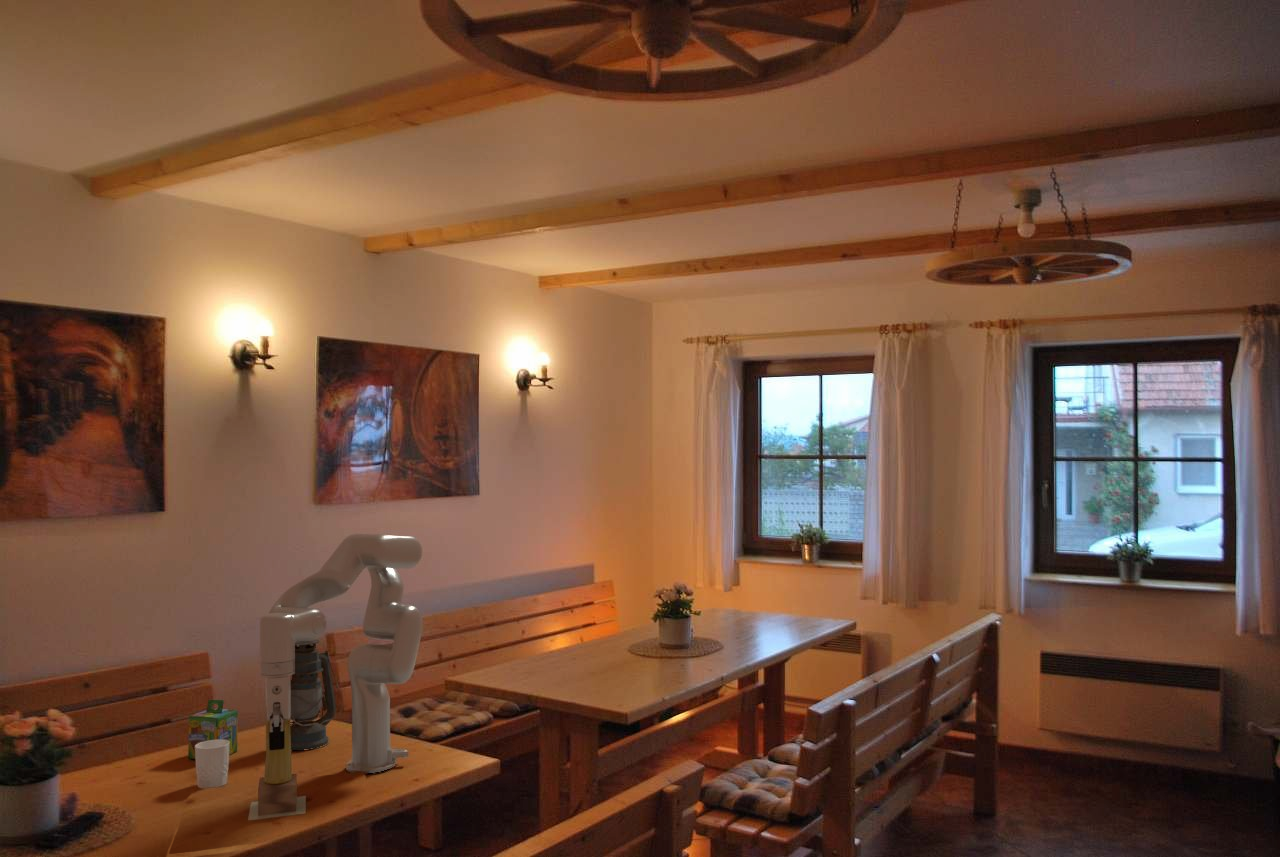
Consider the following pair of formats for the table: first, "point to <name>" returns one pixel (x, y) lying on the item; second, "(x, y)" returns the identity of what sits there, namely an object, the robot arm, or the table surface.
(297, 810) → the baseplate
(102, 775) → the table surface
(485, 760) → the table surface
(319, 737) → the lantern
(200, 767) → the white cup
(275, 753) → the vase
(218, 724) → the chalk box
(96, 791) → the table surface
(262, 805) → the walnut block
